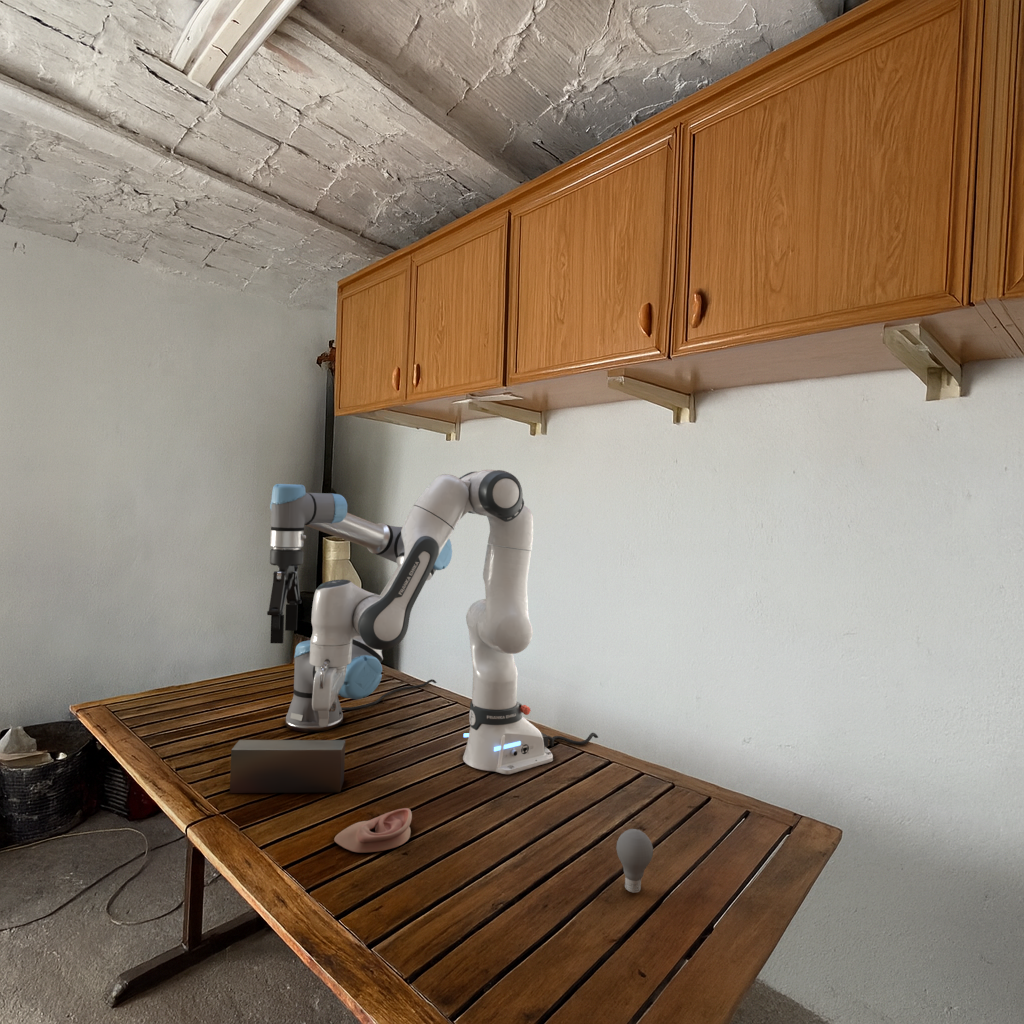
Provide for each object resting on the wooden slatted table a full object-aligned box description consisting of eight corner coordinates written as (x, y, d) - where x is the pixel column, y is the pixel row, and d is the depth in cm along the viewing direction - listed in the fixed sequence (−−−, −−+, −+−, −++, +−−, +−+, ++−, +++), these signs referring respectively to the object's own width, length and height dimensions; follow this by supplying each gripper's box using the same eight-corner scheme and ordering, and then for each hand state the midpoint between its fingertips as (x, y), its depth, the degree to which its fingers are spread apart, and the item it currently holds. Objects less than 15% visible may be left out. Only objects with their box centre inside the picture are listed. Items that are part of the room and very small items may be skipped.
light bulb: (610, 879, 108) (613, 822, 108) (644, 879, 109) (647, 822, 109) (619, 902, 102) (622, 840, 102) (655, 901, 103) (658, 840, 103)
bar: (229, 793, 134) (231, 749, 133) (237, 781, 139) (239, 739, 139) (339, 792, 136) (341, 749, 136) (343, 781, 141) (345, 739, 141)
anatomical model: (326, 826, 114) (355, 797, 125) (325, 847, 114) (354, 817, 126) (396, 837, 112) (418, 806, 123) (395, 859, 112) (417, 827, 123)
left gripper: (290, 553, 140) (287, 649, 140) (313, 544, 164) (311, 625, 165) (255, 552, 139) (252, 648, 139) (283, 543, 164) (281, 625, 164)
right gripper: (337, 667, 128) (334, 735, 128) (352, 644, 148) (349, 703, 148) (305, 666, 127) (302, 735, 127) (324, 643, 147) (321, 702, 148)
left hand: (284, 636), depth 152 cm, fingers open, 13 cm apart
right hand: (327, 717), depth 138 cm, fingers open, 8 cm apart
